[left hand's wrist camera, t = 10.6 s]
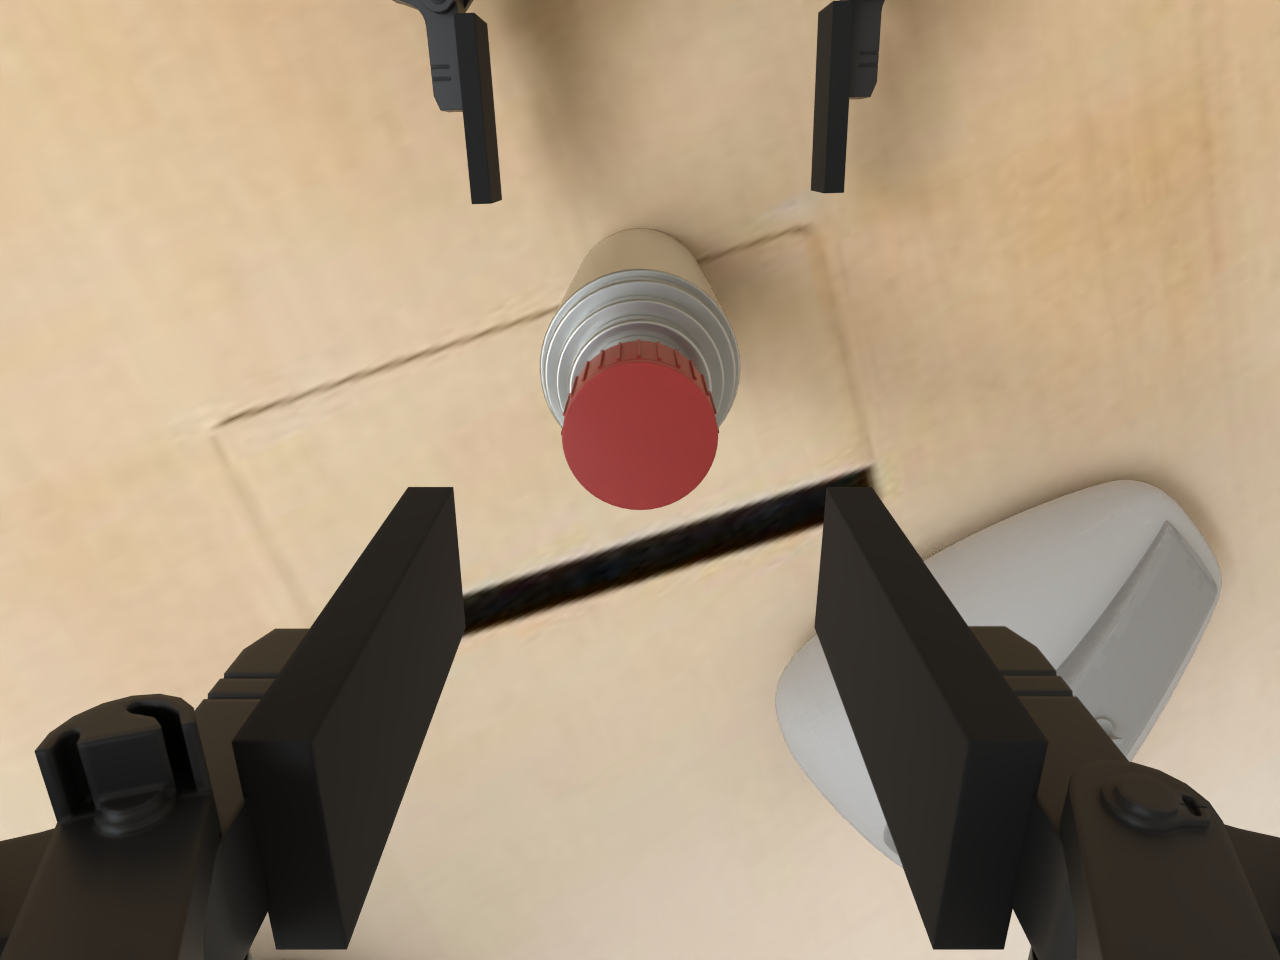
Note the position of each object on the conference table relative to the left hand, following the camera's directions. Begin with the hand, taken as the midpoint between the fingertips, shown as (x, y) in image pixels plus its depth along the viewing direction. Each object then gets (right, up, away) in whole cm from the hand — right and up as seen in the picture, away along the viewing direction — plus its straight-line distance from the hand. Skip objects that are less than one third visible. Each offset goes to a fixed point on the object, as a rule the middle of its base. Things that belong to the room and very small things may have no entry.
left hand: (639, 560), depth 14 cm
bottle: (0, +10, +26) cm, 28 cm away
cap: (0, +3, +6) cm, 7 cm away
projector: (+19, -7, +33) cm, 39 cm away
